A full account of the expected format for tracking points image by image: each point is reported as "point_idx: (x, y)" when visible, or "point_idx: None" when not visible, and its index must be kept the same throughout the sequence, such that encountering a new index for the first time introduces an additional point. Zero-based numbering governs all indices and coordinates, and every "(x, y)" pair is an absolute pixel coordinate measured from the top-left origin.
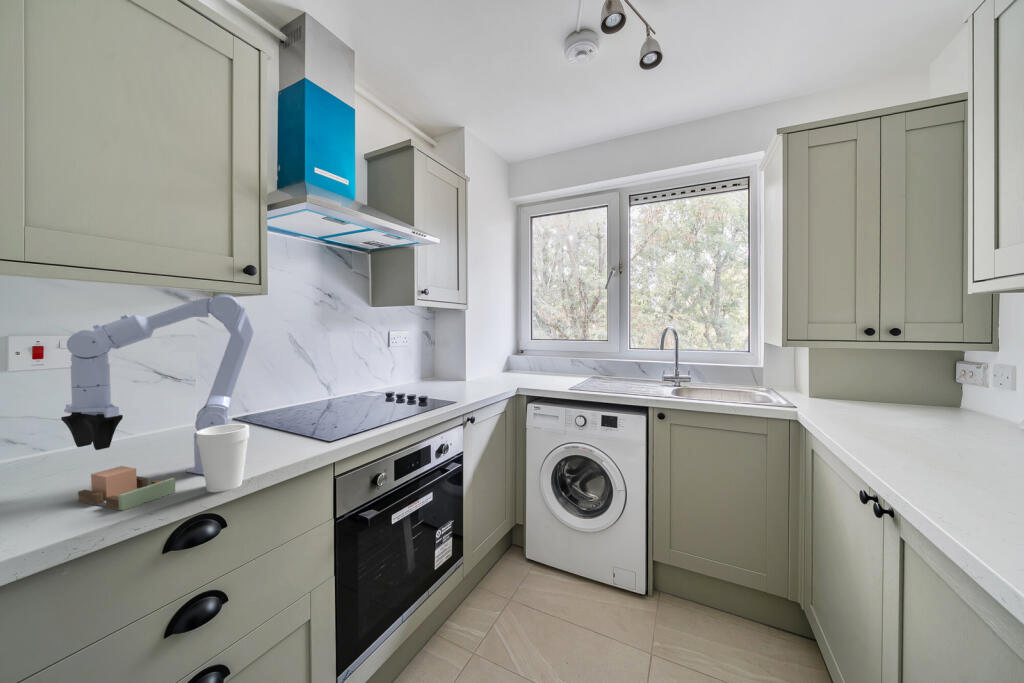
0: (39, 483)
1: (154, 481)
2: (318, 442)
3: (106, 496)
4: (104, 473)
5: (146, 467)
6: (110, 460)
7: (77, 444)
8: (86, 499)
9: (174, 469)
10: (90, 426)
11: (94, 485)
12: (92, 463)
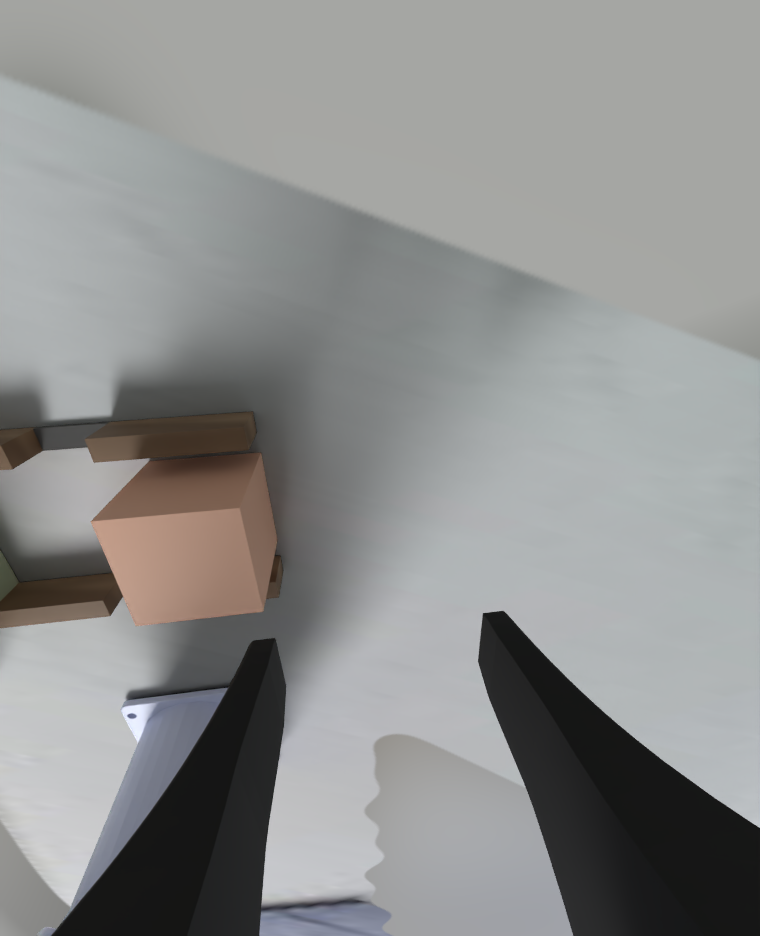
0: (679, 432)
1: (87, 605)
2: None
3: (141, 469)
4: (184, 539)
5: (459, 647)
6: (680, 625)
7: (492, 627)
8: (184, 421)
9: (332, 677)
10: (115, 921)
11: (222, 480)
12: (714, 590)
